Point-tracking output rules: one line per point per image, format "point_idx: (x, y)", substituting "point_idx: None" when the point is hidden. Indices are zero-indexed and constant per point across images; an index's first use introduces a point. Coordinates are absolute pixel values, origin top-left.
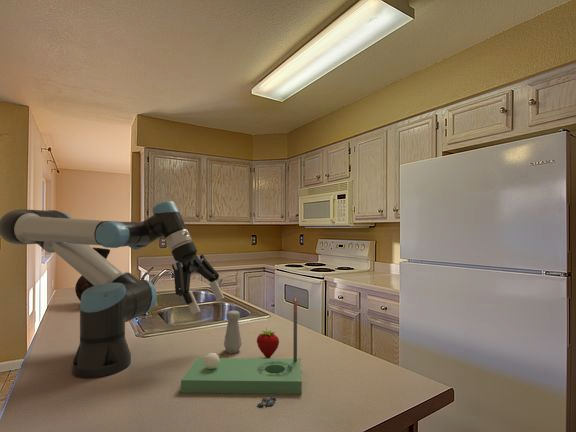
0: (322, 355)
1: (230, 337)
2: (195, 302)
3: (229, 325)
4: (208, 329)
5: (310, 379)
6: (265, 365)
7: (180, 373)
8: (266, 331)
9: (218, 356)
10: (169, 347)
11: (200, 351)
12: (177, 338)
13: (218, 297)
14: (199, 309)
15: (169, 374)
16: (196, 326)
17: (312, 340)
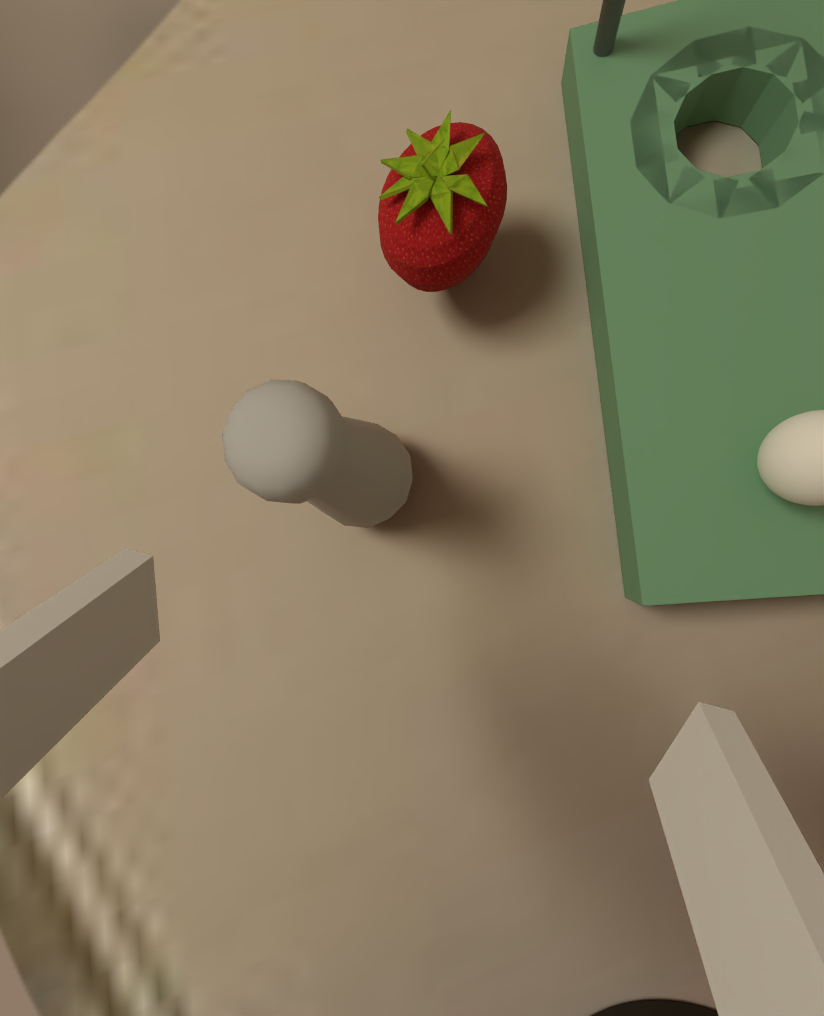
0: (378, 18)
1: (391, 470)
2: (803, 853)
3: (354, 473)
4: None
5: None
6: (695, 183)
7: (701, 662)
8: (415, 181)
9: (817, 414)
10: (359, 861)
11: (397, 657)
12: (219, 864)
13: (131, 630)
14: (717, 724)
15: None
16: (17, 816)
17: (185, 107)
